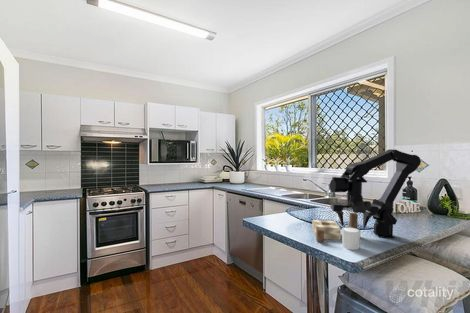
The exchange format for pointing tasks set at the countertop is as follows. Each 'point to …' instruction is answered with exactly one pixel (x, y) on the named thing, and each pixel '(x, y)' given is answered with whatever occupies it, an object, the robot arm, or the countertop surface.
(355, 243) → the white cylinder
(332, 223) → the hole block
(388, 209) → the robot arm
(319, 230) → the short pin
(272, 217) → the countertop surface
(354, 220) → the tall pin
